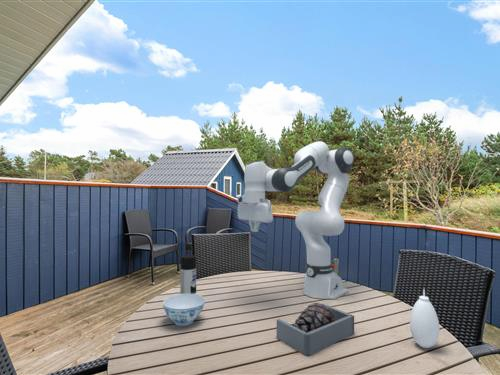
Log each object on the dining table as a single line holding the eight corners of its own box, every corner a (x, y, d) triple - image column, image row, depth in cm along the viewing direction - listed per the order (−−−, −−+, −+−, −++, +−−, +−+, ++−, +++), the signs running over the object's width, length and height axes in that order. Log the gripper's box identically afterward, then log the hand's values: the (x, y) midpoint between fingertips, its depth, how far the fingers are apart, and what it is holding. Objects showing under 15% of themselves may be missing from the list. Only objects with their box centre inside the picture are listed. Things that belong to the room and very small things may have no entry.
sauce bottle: (444, 354, 86) (443, 293, 86) (415, 352, 87) (415, 291, 88) (432, 341, 94) (432, 285, 94) (406, 339, 95) (406, 283, 95)
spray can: (192, 306, 121) (193, 258, 121) (177, 305, 122) (177, 257, 123) (198, 300, 128) (198, 255, 128) (184, 299, 129) (184, 254, 129)
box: (323, 319, 109) (323, 303, 109) (354, 333, 99) (354, 315, 99) (276, 338, 95) (276, 319, 95) (307, 356, 85) (307, 335, 85)
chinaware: (181, 310, 117) (181, 291, 117) (212, 318, 110) (212, 297, 110) (153, 325, 103) (153, 304, 103) (187, 335, 97) (187, 311, 97)
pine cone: (285, 343, 92) (285, 311, 92) (311, 323, 106) (311, 296, 106) (315, 355, 86) (315, 320, 86) (339, 332, 100) (339, 303, 100)
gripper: (276, 199, 117) (276, 233, 116) (246, 198, 133) (246, 228, 133) (264, 199, 113) (264, 235, 113) (235, 198, 129) (234, 229, 129)
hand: (254, 231), depth 123 cm, fingers closed
